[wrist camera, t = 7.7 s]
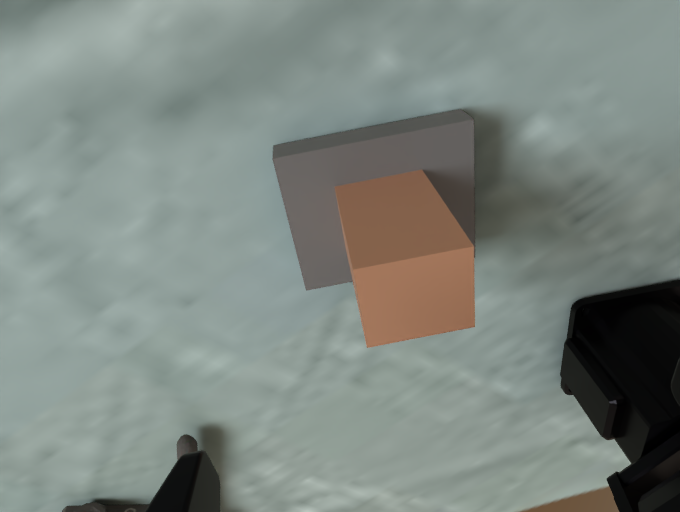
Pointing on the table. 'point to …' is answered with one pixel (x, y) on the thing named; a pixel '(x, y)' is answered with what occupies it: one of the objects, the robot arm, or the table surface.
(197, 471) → the robot arm
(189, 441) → the walkie-talkie
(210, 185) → the table surface
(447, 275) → the stub
